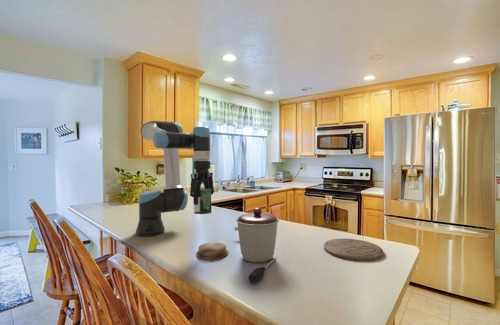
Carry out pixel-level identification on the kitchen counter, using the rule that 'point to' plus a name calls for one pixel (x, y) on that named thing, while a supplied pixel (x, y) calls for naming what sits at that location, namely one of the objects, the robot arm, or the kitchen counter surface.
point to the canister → (257, 235)
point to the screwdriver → (258, 273)
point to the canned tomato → (205, 201)
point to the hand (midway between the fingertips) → (202, 209)
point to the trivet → (353, 249)
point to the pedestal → (212, 251)
